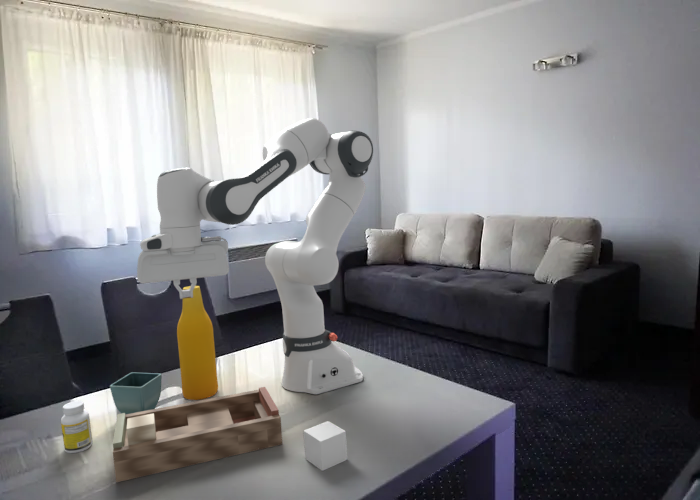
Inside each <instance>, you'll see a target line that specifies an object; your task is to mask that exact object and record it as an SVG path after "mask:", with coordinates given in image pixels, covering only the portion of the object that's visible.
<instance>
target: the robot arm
mask: <svg viewBox="0 0 700 500" xmlns="http://www.w3.org/2000/svg"><path fill="white" fill-rule="evenodd" d="M373 144H374V143H373V141H372V139H371V138H370V136H369V135H368V134H367V133H365V132H362V131H360V130H347V131H341V132H336V133H333V134H331V133H329V130H328V128H327V126H326V125H325V124H324V123H323V122H322V121H321V120H319V119H317V118H314V117H309V118H306V119H301V120H299V121H297V122H295V123H292V124H290V125H289V126H286V127H285V128H284V129H281V130H280V131H279V132H277V133H276V134H275V135H273V136H272V137H271V138H269V139H268V141H266V143H265V144H264V145H263V147H262V158H263V161H262V162H261V163H260V164H258V165H257V166H256V167H254V168H253V169H251V170H249V172H247V173H245V175H243V176H241V177H237V178H229V179H224V180H215V179H211V178H208V177H206V176H204V175H201V174H199V173H197V172H196V171H195V170H193V168H191V167H187V166H185V167H179V168H173V169H168V170H165V171H162V172H161V173H160V175H159V176H158V177H157V182H156V198H157V199H156V201H157V202H156V203H157V209H158V213H159V215H160V223H159V233H158V234H153V235H151V236H148V237H147V238H144V239H142V240H141V241H140V244H139V245H140V246H139V247H140V249H141V251H140V253H139V255H138V259H137V267H136V271H137V273H136V274H137V281H138V282H139V283H140V284H143V285H144V284H151V283H160V282H161V283H162V282H171V281H172V282H173V286H174V287H175V289H176V290H177V291H178V292H179V299H180V300H183V299H185V298H193V289H194V287H195V286H197V283H198V282H197V279H201V278H202V279H203V278H210V277H219V276H226V275H228V273H229V271H230V267H229V261H228V256H227V254H228V252H229V243H228V240H227V239H225V238H224V237H221V236H204V237H202V233H201V232H202V231H201V221H202V220H204V221H207V222H212V223H221V224H225V225H228V226H229V225H230V226H231V225H239V224H241V223H243V222H244V221H246V220H247V219H248V218H249V217H250V216H251V215H252V213H253V211H254V210H255V208H256V206H257V205H258V203H259V202H260V201H261V200H262V198H263V197H264V196H266V195H267V194H269V193H270V192H271V191H273V190H274V188H276V187H277V186H279V185H280V184H282V182H283V181H284V180H286V179H288V178H289V177H291V176H292V175H295V174H296V173H297V172H299V171H300V170H303V169H304V168H305V167H306V166H308V165H309V166H310V167H311V168H312V169H313V170H314V171H315V172H317V173H318V174H322V175H328V176H329V180H328V182H327V185H326V187H325V188H324V189H323V190H322V192H321V193H320V195H319V196H318V198H317V199H316V201H315V203H314V204H313V205H312V207H311V209H310V210H309V211H308V213H307V214H306V217H305V223H306V226H307V227H306V230H305V233H304V235H303V237H302V239H300V240H299V241H297V240H296V241H294V240H284V241H283V240H282V241H280V242H277V243H274V244H272V245H271V246H270V247H269V248H268V249H267V250H266V252H265V257H264V262H265V267H266V269H267V271H269V273H270V275H271V277H272V278H273V281H274V284H275V287H276V289H277V293H278V297H279V299H280V303H281V304H280V305H281V309H282V312H281V313H282V322H283V333H282V351H283V354H284V365H283V366H284V367H283V368H284V369H283V372H282V373H283V375H282V379H281V386H282V387H283V388H284V389H285V390H288V391H289V392H290V391H292V392H298V393H308V394H311V395H319V394H324V393H327V392H330V391H333V390H336V389H337V390H338V389H341V388H344V387H347V386H350V385H353V384H357V383H360V382H362V381H363V379H364V374H363V372H362V371H361V370H360V369H359V367H357V366H355V364H354V361H353V358H352V356H351V355H350V354H349V353H348V352H347V351H346V350H344V349H343V348H342V347H340V346H339V345H337V344H336V343H334V342H337V340H338V335H337V334H336V333H335V332H331V331H330V330H327V329H325V314H324V304H323V300H322V299H321V298H320V296H319V295H318V294H317V291H316V289H315V287H314V286H321V285H326V284H329V283H331V282H332V281H333V280H334V279H335V278H336V276H337V275H338V271H339V266H340V265H339V263H340V262H339V259H338V255H337V250H338V246H339V243H340V241H341V238H342V237H343V234H344V233H345V231H346V229H347V228H348V226H349V224H350V223H351V221H352V220H353V217H354V215H355V214H356V213H357V211H358V209H359V207H360V204H361V203H362V200H363V198H364V195H365V192H366V183H365V181H364V179H363V178H362V177H363V176H364V175H366V174H367V172H368V171H369V165H370V164H371V163H372V159H373V156H374V145H373ZM181 280H189V282H190V285H189V286H190V289H188V290H183V288H181V287H180V285H181Z"/></svg>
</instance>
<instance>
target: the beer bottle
mask: <svg viewBox="0 0 700 500" xmlns="http://www.w3.org/2000/svg"><path fill="white" fill-rule="evenodd" d="M190 286H191V285H189V286H184V287H183V288H182V290H188V289H190ZM203 302H204V301H203V297H202V291H201V288H200V285H195V287H194V289H193V298H185V299H182V309H181V314H180V317H179V320H178V322H177V325H176V328H177V329H176V337H177V346H178V348H177V349H178V358H179V368H180V380H181V391H182V396H183V397H184V399H186V400H189V401H200V400H205V399H210V398H212V397H213V396H215V395H216V394H217V393H218V390H219V381H218V373H217V372H218V371H217V362H216V361H217V360H216V349H215V338H214V336H215V335H214V326H213V322H212V320H211V318H210V316H209V314H208V313H207V311H206V309H205V306H204V303H203Z"/></svg>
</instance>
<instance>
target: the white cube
mask: <svg viewBox="0 0 700 500" xmlns="http://www.w3.org/2000/svg"><path fill="white" fill-rule="evenodd" d="M347 445H348V444H347V431H346V430H345V429H343V428H341V427H339V426H337V425H336V424H335V423H332V422H330V421H328V420H327V421H324V422H322V423H319V424H317V425H314V426H312V427H309V428H306V429H304V430H303V446H304V459H305V460H306V461H308V462H310V463H311V464H312V465H313V466H315V467H317V468H318V469H319V470H320V471H322V472H323V471H325V470H327V469H329V468H331V467H334V466H336V465H338V464H340V463H343V462H345V461H347V460H348V449H347V448H348V447H347Z"/></svg>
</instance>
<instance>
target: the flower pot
mask: <svg viewBox="0 0 700 500" xmlns="http://www.w3.org/2000/svg"><path fill="white" fill-rule="evenodd" d="M162 376H163V375H162V373H158V372H157V373H155V372H154V373H153V372H152V373H151V372H133V371H132V372H129V373H128V374H126V375H124V376H123V377H121V378H119V379H118V380H116V381H115V382H113V383H111V384H110V385H109V389H110V393H111V396H112V400H113V404H114V406H115V408H116V409H117V411H118V412H119V414H121V413H125V414H131V413H136V412H141V411H147V410H152V409H156V407H157V405H158V403H159V401H160V397H161V393H162Z"/></svg>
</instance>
